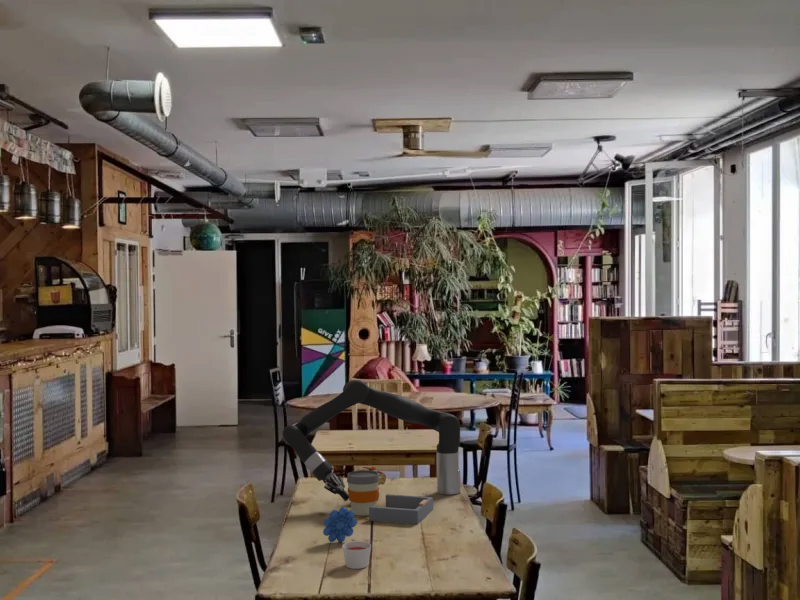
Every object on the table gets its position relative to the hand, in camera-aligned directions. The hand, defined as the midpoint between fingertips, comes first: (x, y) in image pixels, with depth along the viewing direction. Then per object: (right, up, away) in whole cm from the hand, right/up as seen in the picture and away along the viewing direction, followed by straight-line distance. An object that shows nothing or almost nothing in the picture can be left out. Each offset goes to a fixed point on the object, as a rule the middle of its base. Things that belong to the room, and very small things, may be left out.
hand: (347, 499), depth 320 cm
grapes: (0, -5, -38) cm, 39 cm away
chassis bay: (+21, -4, -7) cm, 23 cm away
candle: (+7, -6, -64) cm, 64 cm away
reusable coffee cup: (+6, -5, -2) cm, 8 cm away
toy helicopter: (+9, -4, +21) cm, 23 cm away
